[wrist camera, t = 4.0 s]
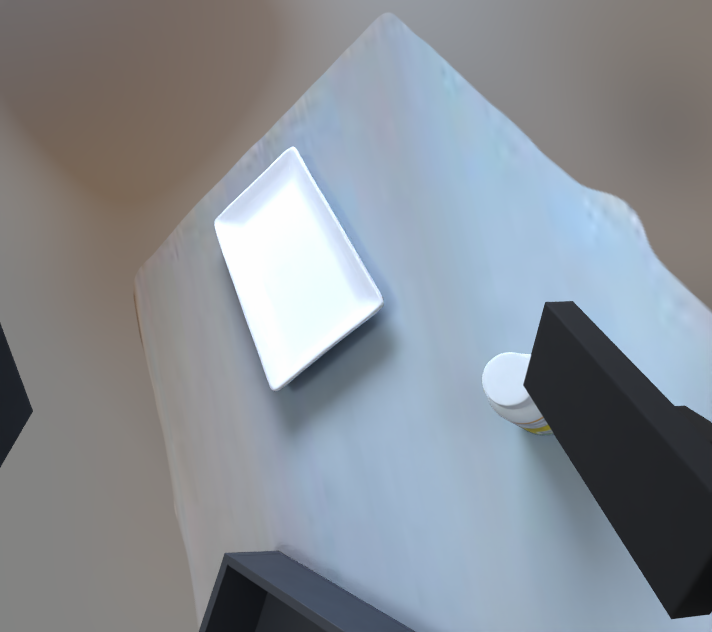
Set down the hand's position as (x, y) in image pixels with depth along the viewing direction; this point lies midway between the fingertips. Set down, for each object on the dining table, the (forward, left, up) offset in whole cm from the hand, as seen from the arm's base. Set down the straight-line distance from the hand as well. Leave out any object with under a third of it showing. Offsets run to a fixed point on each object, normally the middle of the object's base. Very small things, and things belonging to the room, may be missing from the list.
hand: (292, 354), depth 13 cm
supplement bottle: (+1, +7, -36) cm, 37 cm away
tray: (-13, +40, -36) cm, 56 cm away
